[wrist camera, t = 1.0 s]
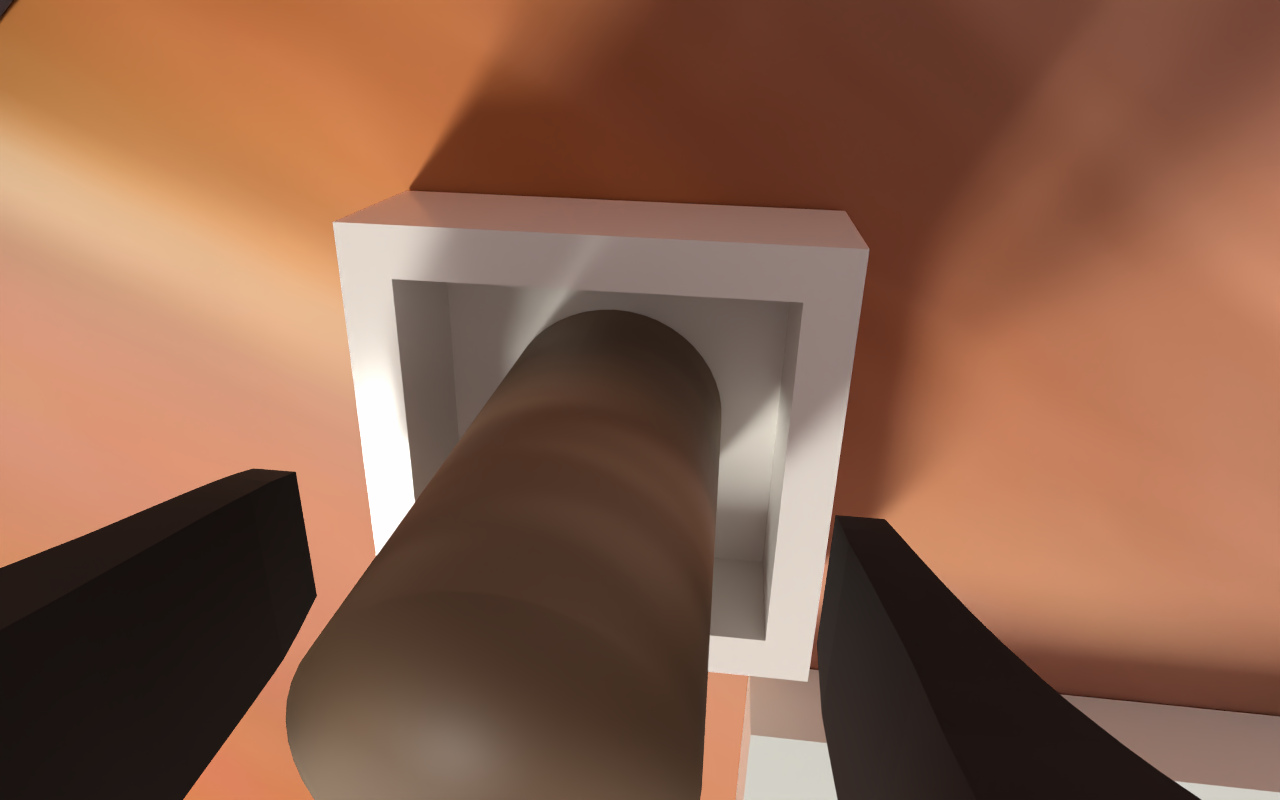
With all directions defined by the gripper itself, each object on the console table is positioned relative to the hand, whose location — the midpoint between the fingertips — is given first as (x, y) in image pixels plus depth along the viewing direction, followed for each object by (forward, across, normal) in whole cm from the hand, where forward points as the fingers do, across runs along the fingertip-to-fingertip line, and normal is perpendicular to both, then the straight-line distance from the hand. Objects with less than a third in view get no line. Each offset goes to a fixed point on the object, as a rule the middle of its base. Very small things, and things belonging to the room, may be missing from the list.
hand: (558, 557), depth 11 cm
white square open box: (+5, 0, 0) cm, 5 cm away
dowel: (+5, 0, 0) cm, 5 cm away
